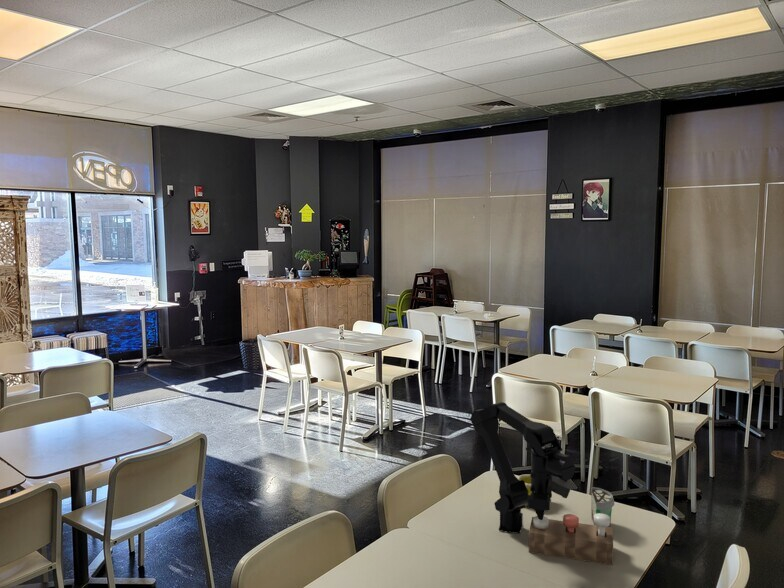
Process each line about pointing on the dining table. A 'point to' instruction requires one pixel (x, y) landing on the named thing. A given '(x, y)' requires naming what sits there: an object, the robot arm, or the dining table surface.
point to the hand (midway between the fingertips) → (540, 519)
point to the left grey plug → (541, 523)
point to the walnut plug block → (572, 542)
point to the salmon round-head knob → (570, 522)
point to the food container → (601, 502)
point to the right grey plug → (601, 523)
